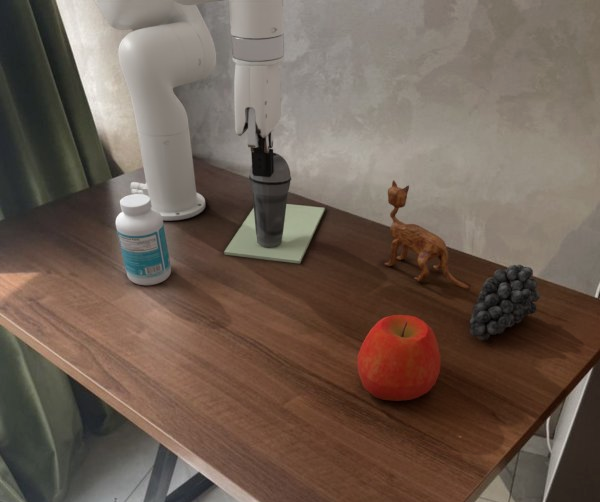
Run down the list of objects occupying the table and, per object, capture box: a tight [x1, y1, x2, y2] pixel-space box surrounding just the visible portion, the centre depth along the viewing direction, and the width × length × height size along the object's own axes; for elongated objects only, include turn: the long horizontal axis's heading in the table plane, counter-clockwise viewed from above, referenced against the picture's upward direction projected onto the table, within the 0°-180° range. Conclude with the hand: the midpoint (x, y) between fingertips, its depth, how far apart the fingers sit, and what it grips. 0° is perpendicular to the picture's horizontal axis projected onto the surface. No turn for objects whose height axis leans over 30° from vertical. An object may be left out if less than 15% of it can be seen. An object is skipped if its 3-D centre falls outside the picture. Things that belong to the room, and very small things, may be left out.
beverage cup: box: [248, 152, 292, 247], centre depth 104 cm, size 7×7×20 cm
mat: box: [223, 203, 326, 265], centre depth 115 cm, size 14×22×1 cm, turn 167°
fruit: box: [469, 264, 541, 341], centre depth 90 cm, size 9×8×15 cm
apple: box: [357, 314, 442, 402], centre depth 78 cm, size 11×11×11 cm
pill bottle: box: [115, 194, 172, 286], centre depth 98 cm, size 8×7×14 cm
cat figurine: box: [383, 179, 470, 290], centre depth 99 cm, size 18×7×14 cm, turn 46°
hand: (263, 174), depth 99 cm, fingers closed
